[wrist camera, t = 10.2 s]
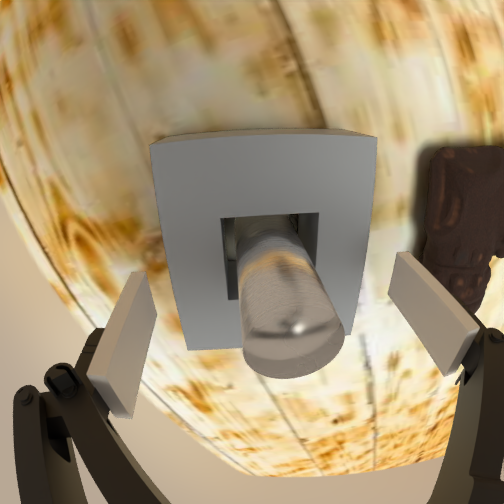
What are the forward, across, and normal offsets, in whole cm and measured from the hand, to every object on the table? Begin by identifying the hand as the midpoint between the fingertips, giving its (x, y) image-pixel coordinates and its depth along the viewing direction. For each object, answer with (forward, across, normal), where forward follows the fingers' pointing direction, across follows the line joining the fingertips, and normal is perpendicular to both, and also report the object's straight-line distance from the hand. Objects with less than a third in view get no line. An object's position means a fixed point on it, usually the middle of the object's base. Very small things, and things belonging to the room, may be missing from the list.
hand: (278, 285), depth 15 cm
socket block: (+8, 0, 0) cm, 8 cm away
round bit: (+8, 0, 0) cm, 8 cm away
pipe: (+8, +20, 0) cm, 22 cm away
